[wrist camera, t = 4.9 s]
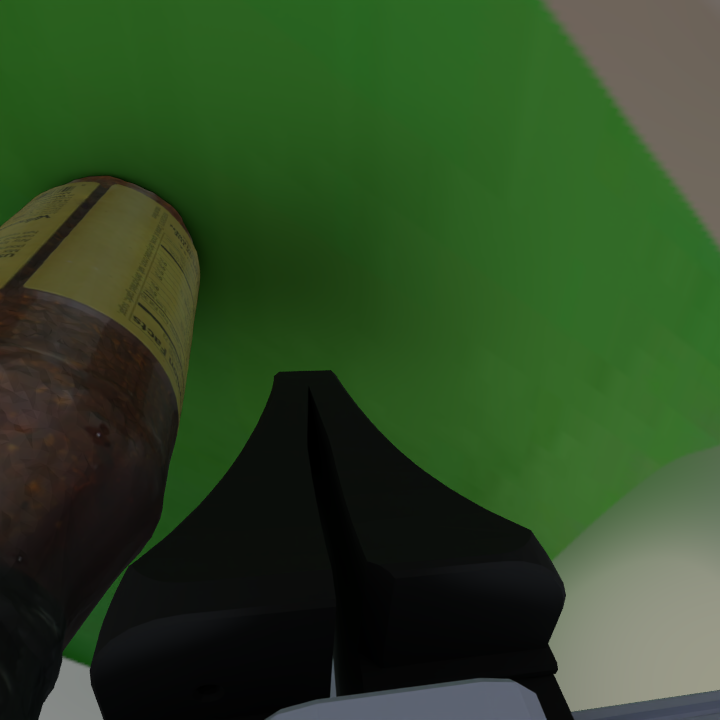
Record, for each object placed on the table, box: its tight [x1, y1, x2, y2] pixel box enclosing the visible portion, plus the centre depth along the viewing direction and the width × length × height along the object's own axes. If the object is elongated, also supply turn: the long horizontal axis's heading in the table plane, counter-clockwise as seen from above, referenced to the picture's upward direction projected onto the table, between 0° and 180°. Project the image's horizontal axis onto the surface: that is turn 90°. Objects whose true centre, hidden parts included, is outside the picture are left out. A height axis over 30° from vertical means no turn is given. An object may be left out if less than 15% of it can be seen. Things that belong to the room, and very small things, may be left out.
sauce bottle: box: [0, 176, 200, 720], centre depth 12 cm, size 7×6×20 cm
